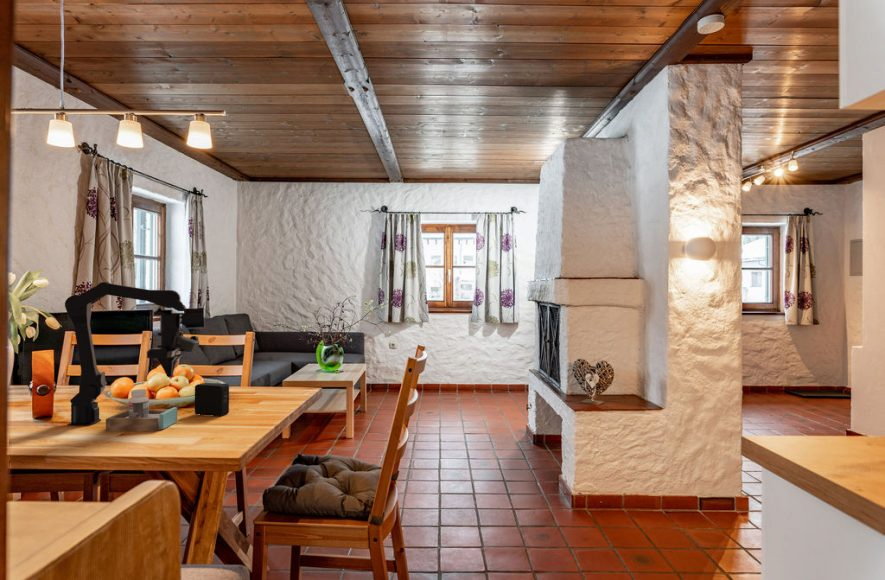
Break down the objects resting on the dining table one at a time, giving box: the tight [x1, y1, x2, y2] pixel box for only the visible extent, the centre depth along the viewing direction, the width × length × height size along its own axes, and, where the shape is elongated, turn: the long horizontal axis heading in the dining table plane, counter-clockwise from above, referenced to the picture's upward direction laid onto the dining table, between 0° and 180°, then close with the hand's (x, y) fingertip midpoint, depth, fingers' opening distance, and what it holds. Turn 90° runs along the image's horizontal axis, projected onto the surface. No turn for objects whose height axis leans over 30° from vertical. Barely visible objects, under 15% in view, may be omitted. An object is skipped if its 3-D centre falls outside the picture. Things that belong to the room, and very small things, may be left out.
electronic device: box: [194, 382, 230, 417], centre depth 181 cm, size 4×10×10 cm, turn 78°
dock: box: [105, 409, 168, 432], centre depth 166 cm, size 14×12×4 cm
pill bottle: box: [128, 388, 150, 418], centre depth 166 cm, size 5×5×10 cm
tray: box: [126, 406, 178, 430], centre depth 166 cm, size 13×9×4 cm
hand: (169, 377), depth 177 cm, fingers closed
